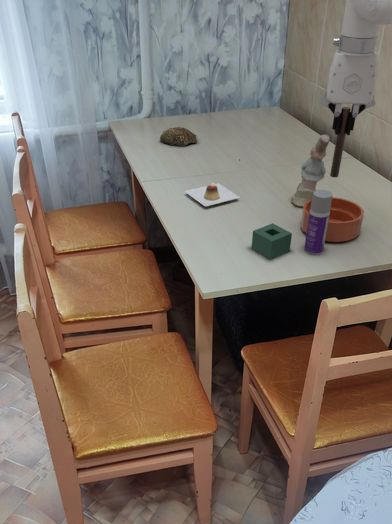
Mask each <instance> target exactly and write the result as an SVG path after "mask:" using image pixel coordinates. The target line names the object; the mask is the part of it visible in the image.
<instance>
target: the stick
mask: <svg viewBox="0 0 392 524" xmlns="http://www.w3.org/2000/svg"><path fill="white" fill-rule="evenodd" d="M351 109H352V107H348V106H341V110H340V113H341V115H340V116H341V123H340V129H339V134H338V135H336V138H335V145H334V151H333V156H332V162H331V168H330V174H329V176H330V177H331V178H338V177H339V176H340V175H339V174H340V169H341V164H342V158H343V153H344V148H345V142H346V138H347V137H346V136H347V135H346V131H347V126H348V120H349V115H350V112H351Z"/></svg>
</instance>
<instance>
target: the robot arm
mask: <svg viewBox="0 0 392 524" xmlns="http://www.w3.org/2000/svg"><path fill="white" fill-rule="evenodd" d="M344 8H345V9H344V12H343V14H344V15H343V19H342V27H341V32H340V35H339V36H338V37H334V38H332V40H333V41H332V46H336V47H337V48H338V49H337V50H335V51H334V53H333V57H332V60H331V64H330V68H329V72H328V77H327V82H326V87H325V90H324V92H323V94H322V96H321V97H320V99H319V103H320V105H321V106H324V107H326V108H328V109H329V110H330V112H331V113H332V114H333V121H332V127H331V129H332V130H333V132H334V135H336V136H337V135H338V134H339V129H340V123H341V116H340V115H341V110H342V105H351V110H350V115H349V120H348V126H347V131H346V136H350V135H351V132H352V131H354V129H355V128H354V127H355V122H356V118H358V116H359V115H360V114H361V113H362V112H363V111H364V110H367V109H370V108H373V107H374V106H375V105H376V101H375V97H374V93H375V87H376V81H377V73H378V61H379V55H378V54H379V53H377V52H376V45H377V40H378V35H379V31H380V26H383V25H384V26H385V25H392V0H345V7H344Z"/></svg>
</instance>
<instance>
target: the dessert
mask: <svg viewBox="0 0 392 524" xmlns="http://www.w3.org/2000/svg"><path fill="white" fill-rule="evenodd" d="M183 191H184V193H185V194H187V195H188V196H190V197H191V198H193V199H194V200H195V201H197V202H198V203H199V204H201V205H202V206H204V207H206V208H208V207H211V206H216V205H219V204H224V203H229V202H231V201H235V200H237V199H240V198H241V196H239V195H237V194H235V193H234V192H233V191H231V190H229V189H228V188H226V187H225V186H224V185H222V184H221V183H219V182H217V183H215V182H214V181H212V182H211V183H210V184H208V185H205V186H200V187H196V188H192V189H187V190H183Z"/></svg>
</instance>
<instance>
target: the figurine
mask: <svg viewBox="0 0 392 524" xmlns="http://www.w3.org/2000/svg"><path fill="white" fill-rule="evenodd" d="M330 139H331V138H330V136H329V135H328V134H322V135H320V137H319V138H318V140H317V142H315V144H314V145H313V146H312V148H311V149H310V153H309V154H310V157H309V158H307V160H306V161H304V163H302V165H301V171H300V176H301V182H299V183H298V185H297V187H296V192H294V193H293V194H292V196H291V202H292V203H293V204H294V205H295V206H298V207H302V208H303V207H304V204H305V203H306V202H307V201H309V200H311V199H312V197H313V192H314V191H316V190H317V189H316V188H317V183H318V182H319V181H322V180H323V179H324V178H325V175H326V172H327V169H326V166H325V162H324V161H323V160H324V158H326V156H327V147H328V146H329V144H330Z"/></svg>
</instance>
